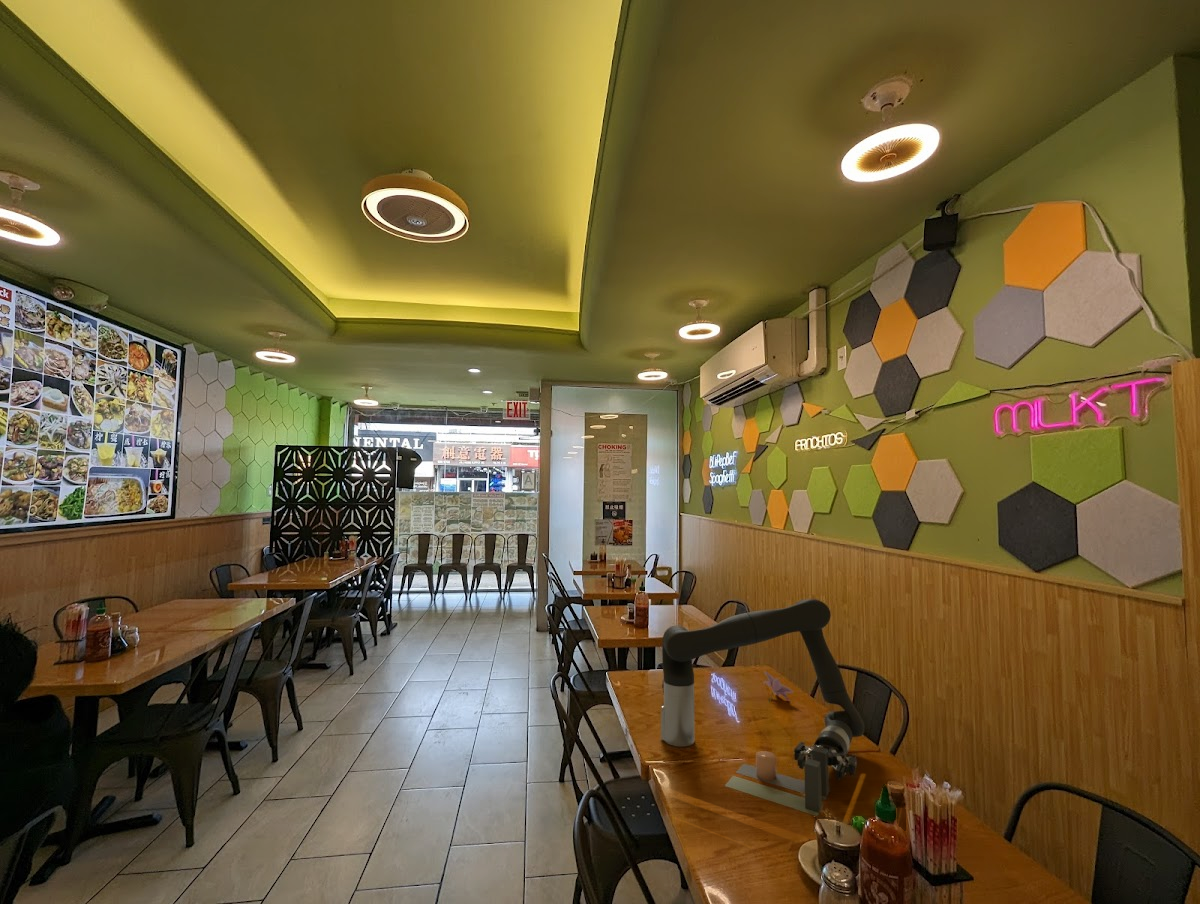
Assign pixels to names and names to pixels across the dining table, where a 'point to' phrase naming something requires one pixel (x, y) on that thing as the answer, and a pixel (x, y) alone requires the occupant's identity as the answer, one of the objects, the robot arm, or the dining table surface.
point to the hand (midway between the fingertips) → (818, 769)
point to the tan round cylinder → (766, 765)
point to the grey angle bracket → (807, 804)
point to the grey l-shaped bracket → (792, 783)
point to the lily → (777, 686)
